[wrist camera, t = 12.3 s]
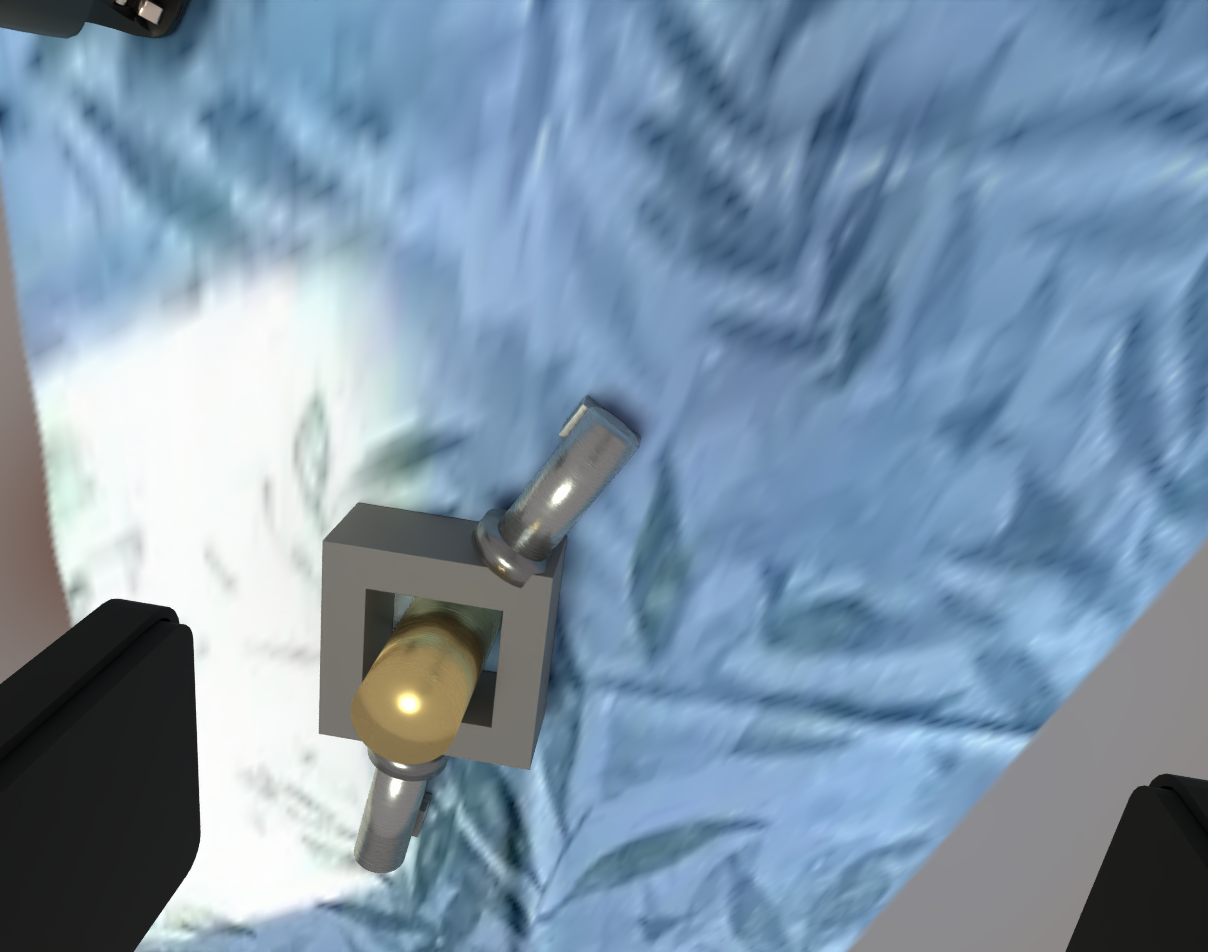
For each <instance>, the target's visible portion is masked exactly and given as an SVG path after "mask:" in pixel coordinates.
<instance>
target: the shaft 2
mask: <svg viewBox="0 0 1208 952" xmlns="http://www.w3.org/2000/svg"><path fill="white" fill-rule="evenodd" d="M559 435H560V436H561V437H563V438H564V439H565V440H564V441H563V442H562V443H561V445H560V446H559V447H558V448H557V450H556V451H555V452H554V453H553V455H552V456H551V457H550V458H549V460H548V461H547V462H546V463H545V465H544V466H543V467H542V468H541V470H540V471H539V472H538V473H537V475H536V476H535V477H534V478H533V480H532V481H531V482H530V483H529V485H528V486H527V487H526V488H525V490H524V491H523V492H522V493H521V495H520V496H519V497H518V498H517V500H516V501H515V502H514V503H513V505H512V506H511V507H510V508H509V510H504V509H492V510H489V511H488V512H487V513H486V515H485V516H484V517H483V518H482V520H481V521H480V522H479V523H478V525H477V526H476V527H475V528H474V530H473V531H472V533H471V542H472V546H473V548H474V550H475V552H476V554H477V555H478V557H479V558H480V559H481V561H482V562H483V563H484V564H485V565H486V566H487V567H488V568H489V569H490V570H491V571H492V572H493V573H494V574H495V575H497V576H498V577H499V578H501V579H502V580H504V581H506V582H507V583H509V584H511V585H513V586H515V587H518V588H522V587H523V586H524V584H525V583H526V582H527V581H528V580H529V578H530V577H531V576H532V575H536V574H542V573H545V571H546V568H547V566H548V563H549V560H550V557H551V554H552V552H553V549H554V548H555V547H556V546H557V545H558V543H559V542H560V541H561V540H562V539H563V538H564V536H565V535H566V534H567V533H568V532H569V530H570V529H571V528H572V527H573V526H574V524H575V523H576V522H577V521H578V520H579V518H580V517H581V516H582V515H583V514H584V513H585V511H586V510H587V509H588V508H589V507H590V505H591V504H592V503H593V502H594V501H595V499H596V498H597V497H598V496H599V495H600V493H601V492H602V491H603V490H604V489H605V488H606V486H607V485H608V484H609V483H610V482H611V480H612V479H613V478H614V477H615V476H616V474H617V473H618V472H619V471H620V470H621V468H622V467H623V466H624V465H625V464H626V463H627V461H628V460H629V459H630V458H631V457H632V455H633V454H634V453H635V452H636V451H637V449H638V448H639V445H640V440H641V437H640V436H639V435H637V434H636V433H635V432H634V431H632V430H631V429H630V428H628V427H627V426H626V425H625V424H623V423H622V422H621V421H620V420H619V419H617V418H616V417H615V416H613V415H612V414H610V413H609V412H607V411H606V410H605V409H604V408H602V407H601V406H600V405H598V404H597V403H596V402H594V401H593V400H592V399H591V398H589V397H588V396H586V397H585V398H584V400H583V401H582V402H581V403H580V405H579V406H578V407H577V408H576V410H575V411H574V412H573V414H572V415H571V416H570V417H569V419H568V420H567V421H566V422H565V424H564V425H563V427H562V429H561V431H560V433H559Z"/></svg>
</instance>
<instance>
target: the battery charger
mask: <svg viewBox="0 0 1208 952" xmlns="http://www.w3.org/2000/svg"><path fill="white" fill-rule="evenodd" d="M186 2H187V0H0V27H1V28H6V29H11V30H17V31H22V32H28V33H33V34H39V35H45V36H52V37H59V38H70V37H72V36H75V35H77V34H78V33H79V32H80V31H81V29H82V27H83V26H84V23H85V22H89V23H94V24H98V25H102V26H106V27H109V28H113V29H117V30H120V31H123V32H126V33H129V34H132V35H136V36H142V37H149V38H161V37H164V36H167V35H168V34H170V33H171V32H172V31H173V29H174V28H175V26H176V24H177V22H178V21H179V19H180V16H181V14H182V12H183V10H184V7H185V5H186Z"/></svg>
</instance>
